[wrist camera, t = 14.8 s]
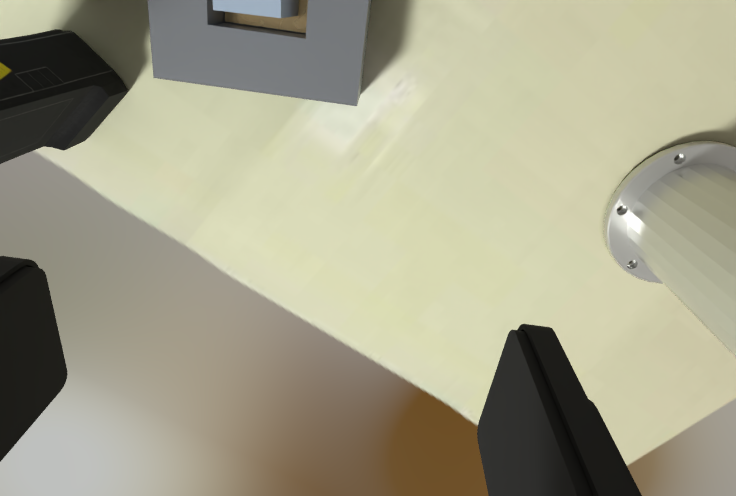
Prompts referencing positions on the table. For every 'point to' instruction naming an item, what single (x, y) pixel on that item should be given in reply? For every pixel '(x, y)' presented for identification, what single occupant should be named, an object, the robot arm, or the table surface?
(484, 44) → the table surface
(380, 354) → the table surface
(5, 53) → the portable radio
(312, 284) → the table surface
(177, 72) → the socket block
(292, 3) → the plug
